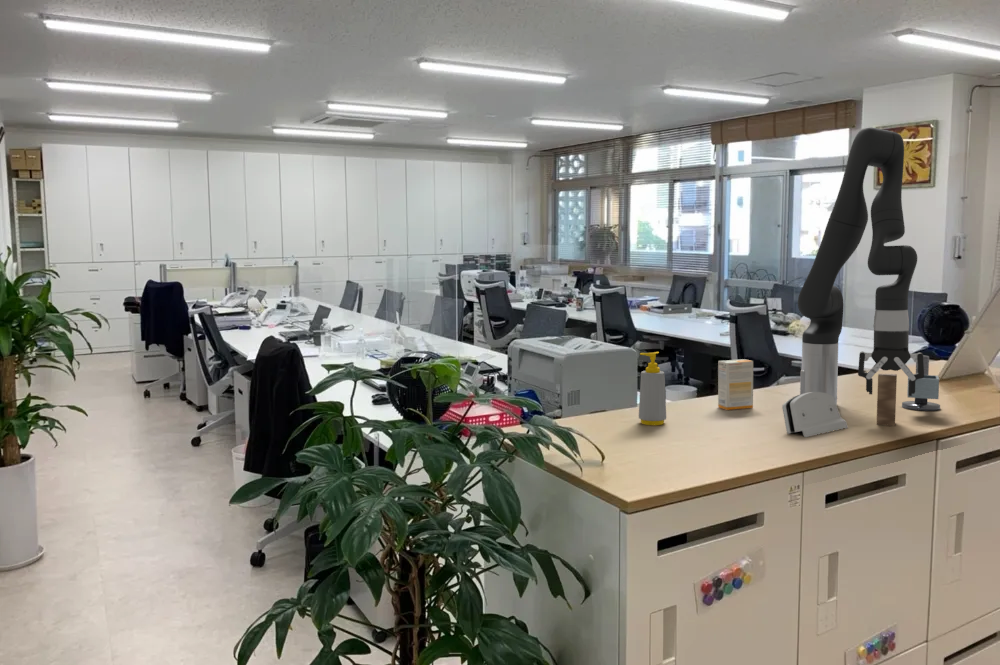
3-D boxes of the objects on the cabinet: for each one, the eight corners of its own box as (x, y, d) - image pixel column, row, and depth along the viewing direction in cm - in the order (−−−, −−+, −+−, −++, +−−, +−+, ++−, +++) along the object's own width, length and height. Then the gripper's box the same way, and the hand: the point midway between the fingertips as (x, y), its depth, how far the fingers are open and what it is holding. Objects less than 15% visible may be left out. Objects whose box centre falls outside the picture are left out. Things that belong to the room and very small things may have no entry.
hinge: (804, 437, 174) (793, 394, 176) (788, 440, 178) (776, 398, 180) (849, 427, 183) (837, 387, 185) (832, 430, 187) (820, 391, 189)
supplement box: (743, 405, 212) (744, 358, 211) (753, 408, 208) (754, 360, 207) (717, 407, 210) (717, 360, 209) (726, 410, 206) (727, 362, 204)
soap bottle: (633, 421, 194) (633, 351, 192) (657, 419, 196) (658, 350, 194) (646, 427, 187) (646, 354, 185) (671, 424, 189) (672, 353, 187)
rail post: (876, 424, 186) (878, 375, 185) (876, 421, 189) (878, 373, 188) (895, 425, 184) (896, 376, 183) (895, 422, 187) (896, 374, 186)
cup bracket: (901, 416, 194) (903, 362, 193) (901, 403, 211) (903, 353, 210) (942, 419, 190) (944, 363, 189) (939, 406, 207) (941, 354, 206)
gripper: (923, 327, 185) (922, 393, 186) (858, 327, 191) (858, 391, 192) (925, 330, 178) (924, 398, 179) (858, 329, 184) (857, 395, 186)
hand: (890, 394), depth 186 cm, fingers open, 8 cm apart
